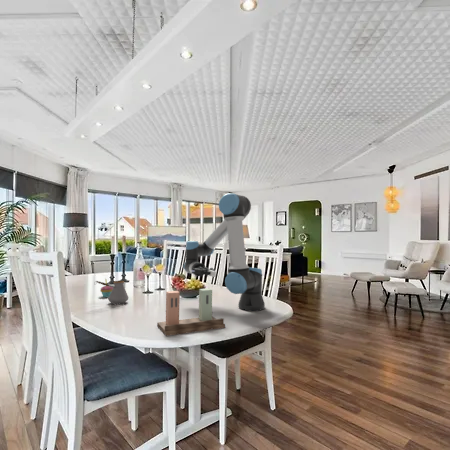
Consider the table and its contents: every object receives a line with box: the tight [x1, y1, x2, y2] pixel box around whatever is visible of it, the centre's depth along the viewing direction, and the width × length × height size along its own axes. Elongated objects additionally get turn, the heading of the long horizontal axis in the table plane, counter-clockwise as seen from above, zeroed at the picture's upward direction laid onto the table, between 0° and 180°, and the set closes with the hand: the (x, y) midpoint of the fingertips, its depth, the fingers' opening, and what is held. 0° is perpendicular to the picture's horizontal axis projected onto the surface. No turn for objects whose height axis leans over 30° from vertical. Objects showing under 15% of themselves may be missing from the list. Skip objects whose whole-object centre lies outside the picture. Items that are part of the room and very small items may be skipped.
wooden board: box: [156, 316, 226, 337], centre depth 136 cm, size 27×15×4 cm, turn 116°
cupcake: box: [100, 278, 113, 298], centre depth 199 cm, size 9×8×12 cm
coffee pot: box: [94, 280, 129, 305], centre depth 177 cm, size 21×12×15 cm, turn 145°
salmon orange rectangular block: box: [165, 290, 181, 325], centre depth 135 cm, size 5×4×14 cm
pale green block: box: [198, 288, 213, 321], centre depth 142 cm, size 5×4×14 cm
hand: (214, 274), depth 151 cm, fingers closed
